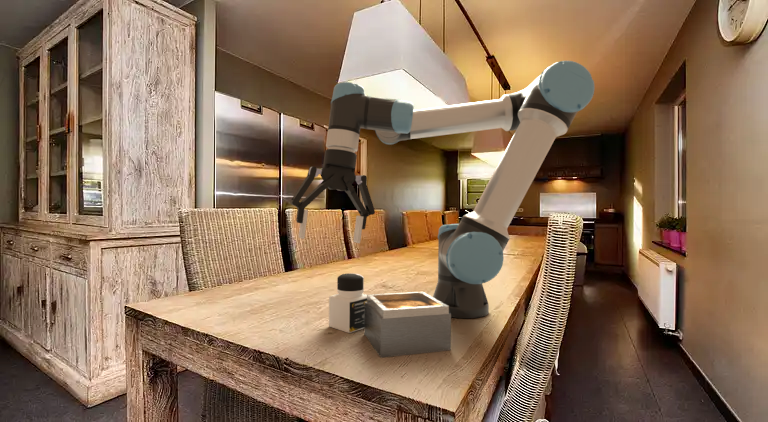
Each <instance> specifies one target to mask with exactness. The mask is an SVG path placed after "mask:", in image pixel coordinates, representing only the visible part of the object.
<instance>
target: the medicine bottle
mask: <svg viewBox="0 0 768 422" xmlns="http://www.w3.org/2000/svg"><path fill="white" fill-rule="evenodd" d="M364 279H365V277H364V276H363V275H362V274H359V273H353V272H352V273H350V272H349V273H342V274H339V275H338V276H337V285H336V287H337V289H336V291H337V294H333V295H329V296H328V327H329V328H333V329H336V330H338V331H342V332H345V333H348V334H352V333H354V332H357V331H360V330H363V329H364V330H365V302H367V295H368V294H366V293H364V290H365V288H364V287H365V286H364V284H365V283H364V282H365V280H364Z"/></svg>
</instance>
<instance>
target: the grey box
mask: <svg viewBox="0 0 768 422" xmlns="http://www.w3.org/2000/svg"><path fill="white" fill-rule="evenodd" d="M366 295H367V302H365V328H364V336H365V337H366V339H367V340H368V342H369V343H370V345H371V346H372V348H373V349H374V350H375V352H376V353H377V354H378V356H379V357H380V358H387V357H388V358H390V357H396V356H408V355H415V354H427V353H436V352H446V351H451V349H452V347H451V345H452V344H451V341H452V338H451V337H452V317H451V313H449V306H448V305H446V304H444V303H442V302H441V301H439V300H437V299H435V298H434V297H433V296H432V295H430V294H429V293H426V292H424V291H412V292H411V291H409V292H392V293H391V292H390V293H375V294H371V293H370V294H366Z"/></svg>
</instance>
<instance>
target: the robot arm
mask: <svg viewBox="0 0 768 422" xmlns="http://www.w3.org/2000/svg"><path fill="white" fill-rule="evenodd" d="M594 93H595V80H594V79H593V77H592V74H591V72H590V71H589V70H588V69H587V67H585V66H584V65H582V64H581V63H579V62H577V61H573V60H561V61H556V62H554V63H552V64H551V65H549V66H547V67H546V68H545V69H544V70H543V71H542V72H541V74H540V75H539V76H537V77H536V78H535V79H534V80H533V81H532V82H531V83H530V84H529V85H528V86H526V87H525V88H524V89H521V90H519V91H517V92H512V93H506V94H503V95H502V96H501V97H500V98H499V99H496V98H495V99H490V100H482V101H475V102H465V103H459V104H457V103H456V104H451V105H443V106H442V105H441V106H435V107H427V108H421V109H414V107H415V106H414V105H415V104H414V103H413V102H412V101H408V100H404V99H403V100H402V99H401V98H397V99H396V98H387V97H378V96H377V97H376V96H369V95H367V94H366V90H365V88H364V87H363V86H362V85H360V84H357V83H353V82H348V81H342V82H338V83H336V85H334V87H333V92H332V97H331V101H330V110H329V118H328V119H329V120H328V126H327V127H328V128H327V135H326V142H325V147H326V148H327V149H325V151H324V158H323V164H322V168H321V169H320V168H318V167H316V166H310V167H309V168H308V172H307V175H306V177H305V179H304V180H303V182H302V183H301V184H300V186H299V187H298V189H297V191H296V192H295V193H294V195H293V196H292V198H291V199H290V201H289V204H290V205H292V206H294V207H296V209H297V212H296V218H295V221H296V223H298V224H299V228H298V230H299V231H298V238H299V239H301V240H302V239H303V240H304V239H305V238H306V231H307V222H308V214H309V210H308V209H305V208H306V207H308V206H309V205H310V204H311V203H312V202H314V200H315V199H316V198H317V197H319V195H320V194H322V193H323V192H324V191H325V190H327V189H328V190H334V191H335V190H337V191H340V192H345V193H346V194H347V196H348V197H349V199H350V201H351V202H352V204H353V205H354V207H355V208H356V211H357V212H358V214H359V215H356V216H355V223H354V224H355V226H354V231H353V238H352V239H353V240H352V242H354V243H356V244H361V239H362V230H365V229H366V227H367V226H366V225H367V218H368V217H369V216H371V215H373V216H374V215H375V213H376V211H375V208H374V204H373V200H372V198H371V195H370V190H369V188H368V186H367V185H368V184H367V182H368V179H367V178H368V176H367V175H366V174H364V175H363V174H362V175H356V172H355V171H356V166H357V165H356V164H357V157H358V155H357V152H358V150H359V144H360V143H359V140H360V134H361V133H360V132H361V129H365V130H373V131H375V134H376V136H377V138H378V139H379V141H381V142H382V143H383V144H385V145H394V144H397V143H398V142H401V141H407V140H412V139H421V138H422V139H423V138H432V137H439V136H446V135H454V134H463V133H464V134H465V133H470V132H471V133H472V132H479V131H487V130H495V129H502V130H503V131H505V132H512V131H515V132H514V134H513V136H512V137H511V139H510V141H509V143H508V145H507V147H506V148H505V150H504V152H503V154H502V156H501V158H500V160H499V162H498V163H497V165H496V167H495V169H494V171H493V173H492V175H491V177H490V179H489V180H488V182H487V184H486V186H485V188H484V190H483V192H482V194H481V196H480V197H479V200H478V201H477V202H476V203H477V204H476V205H475V207H474V209H473V211H471V212H469V213H466V214H464V215H463V216H462V217H461V219H460V221H459V223H451V224H450V223H449V224H443V225H441V226H440V227H439V228H438V234H437V240H438V243H437V245H438V246H437V247H438V248H437V250H438V253H437V259H438V261H437V284H436V286H435V289H434V292H433V296H432V297H434V298H435V299H437V300H439V301H441V302H442V303H444V304H446V305H448V306H449V313H451V318H454V319H455V318H456V319H475V318H482V317H485V316H488V315H489V311H490V308H489V302H488V298H487V294H486V292H485V288H484V285H483V284H486V283H487V282H488V283H489V282H490V281H492V280H493V279H494V278H495V277H496V276H498V274H499V273H500V271H501V270H502V269H503V265H504V250H505V248H506V247H507V245H508V242H510V235H509V232H508V228H509V227H510V224H511V222H512V220H514V219H513V218H514V217H515V215H516V213H517V211H518V209H519V208H520V206H521V204H522V202H523V200H524V198H525V196H526V195H527V193H528V190H529V189H530V187H531V185H532V183H533V181H534V180H535V178H536V175H537V173H538V172H539V170H540V168H541V166H542V164H543V162H544V161H545V160H546V159H545V158H546V156H547V155H548V153H549V151H550V149H551V148H552V145H553V144H554V141H555V140H556V138H557V137H560V136H563V135H565V134H566V133H567V132H568V130H569V129H570V127H571V125H572V123H573V120H575V117H576V115H577V114H578V112H580V111H582V110H584V108H585V107H587V106H588V105H589V104H590V102H591V101H592V100H593V97H594ZM319 175H320V176H321V179H322V181H321V182H320V183H319V184H318V185H317V186H316V187H314V189H313V190H312V191H311V192H310V193H309V194H307V196H305V197H304V198H303V196H304V195H305V193H306V192H307V190H308V189H309V187H310V186H311V184H312V182H313V181H314V180H315V178H317V177H318V176H319ZM354 182H356V184H357V185H358V189H359V192H360V195H361V199H362V200H361V199H360V198H359V196H358V194H357V192H356V190H355V187H354V186H353V184H354ZM302 198H303V199H302Z"/></svg>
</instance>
